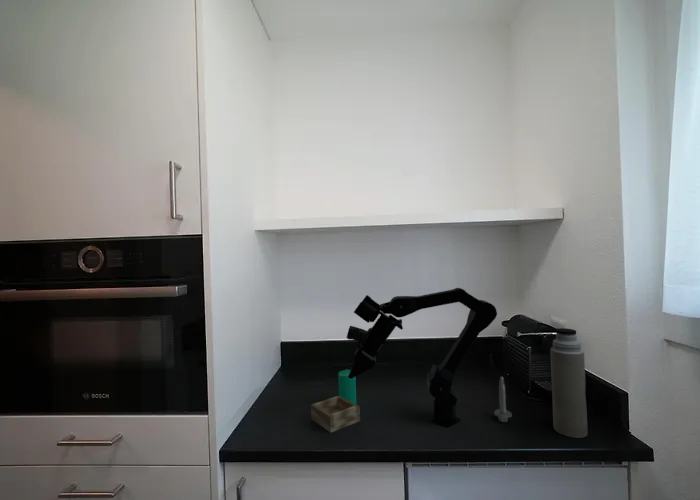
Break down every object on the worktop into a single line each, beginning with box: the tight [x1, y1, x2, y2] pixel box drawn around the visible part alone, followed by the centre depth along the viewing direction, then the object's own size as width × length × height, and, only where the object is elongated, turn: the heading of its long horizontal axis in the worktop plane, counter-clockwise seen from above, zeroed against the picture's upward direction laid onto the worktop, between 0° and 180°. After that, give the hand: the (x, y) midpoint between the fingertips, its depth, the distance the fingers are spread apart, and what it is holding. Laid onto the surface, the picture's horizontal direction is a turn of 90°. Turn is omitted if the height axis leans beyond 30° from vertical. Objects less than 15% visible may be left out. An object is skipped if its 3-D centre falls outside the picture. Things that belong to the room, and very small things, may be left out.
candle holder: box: [310, 395, 361, 433], centre depth 107 cm, size 11×11×4 cm
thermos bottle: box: [549, 327, 588, 439], centre depth 97 cm, size 8×8×28 cm
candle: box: [337, 368, 357, 404], centre depth 118 cm, size 6×6×12 cm
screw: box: [493, 376, 513, 423], centre depth 104 cm, size 13×5×5 cm
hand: (351, 372), depth 107 cm, fingers open, 9 cm apart
